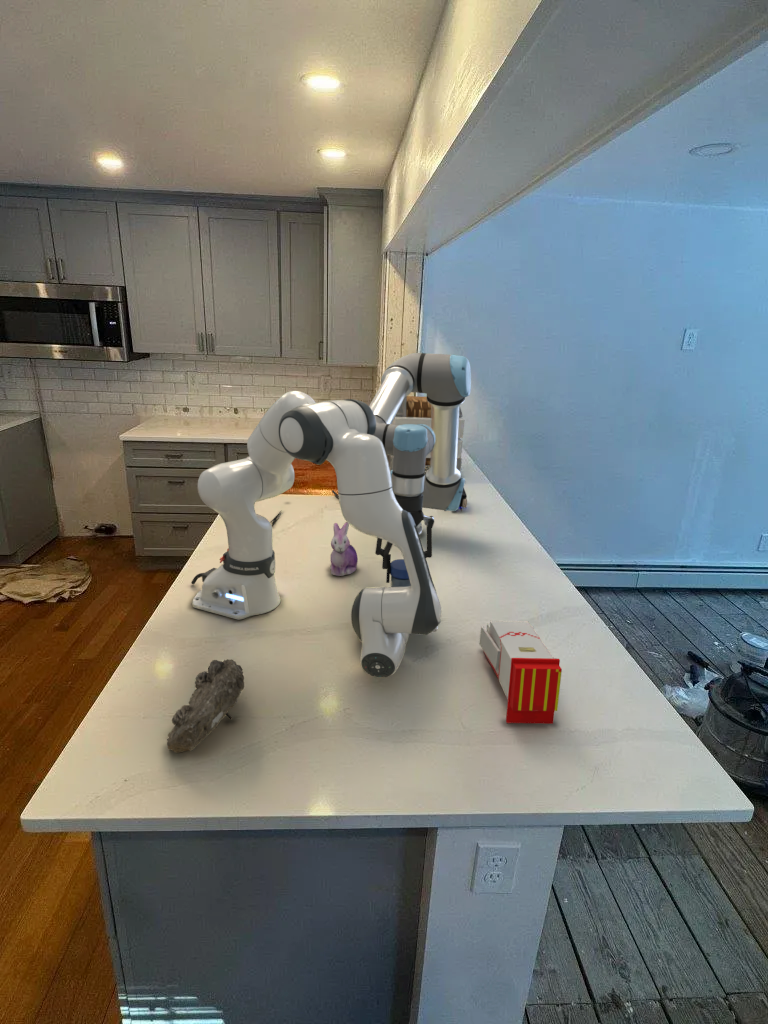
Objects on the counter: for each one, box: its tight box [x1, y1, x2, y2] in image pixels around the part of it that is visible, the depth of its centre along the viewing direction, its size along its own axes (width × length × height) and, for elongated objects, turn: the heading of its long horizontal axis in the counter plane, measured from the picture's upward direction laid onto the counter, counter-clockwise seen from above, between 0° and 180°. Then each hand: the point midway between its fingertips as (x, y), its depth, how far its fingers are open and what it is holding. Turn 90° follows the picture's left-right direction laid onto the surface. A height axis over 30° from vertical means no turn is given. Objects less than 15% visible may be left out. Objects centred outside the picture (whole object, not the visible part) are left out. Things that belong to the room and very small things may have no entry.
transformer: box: [387, 395, 465, 475], centre depth 268 cm, size 34×33×41 cm
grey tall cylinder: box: [390, 575, 411, 587], centre depth 141 cm, size 6×6×16 cm
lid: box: [390, 558, 409, 579], centre depth 139 cm, size 6×6×2 cm
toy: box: [478, 620, 563, 725], centre depth 121 cm, size 12×13×30 cm
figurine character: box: [457, 487, 468, 512], centre depth 228 cm, size 7×8×15 cm
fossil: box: [166, 658, 245, 754], centre depth 106 cm, size 22×10×15 cm
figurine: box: [329, 521, 359, 577], centre depth 168 cm, size 9×10×15 cm
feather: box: [269, 510, 282, 527], centre depth 212 cm, size 2×28×2 cm
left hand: (401, 598), depth 142 cm, fingers closed on grey tall cylinder, 5 cm apart
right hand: (402, 581), depth 140 cm, fingers closed on lid, 6 cm apart
